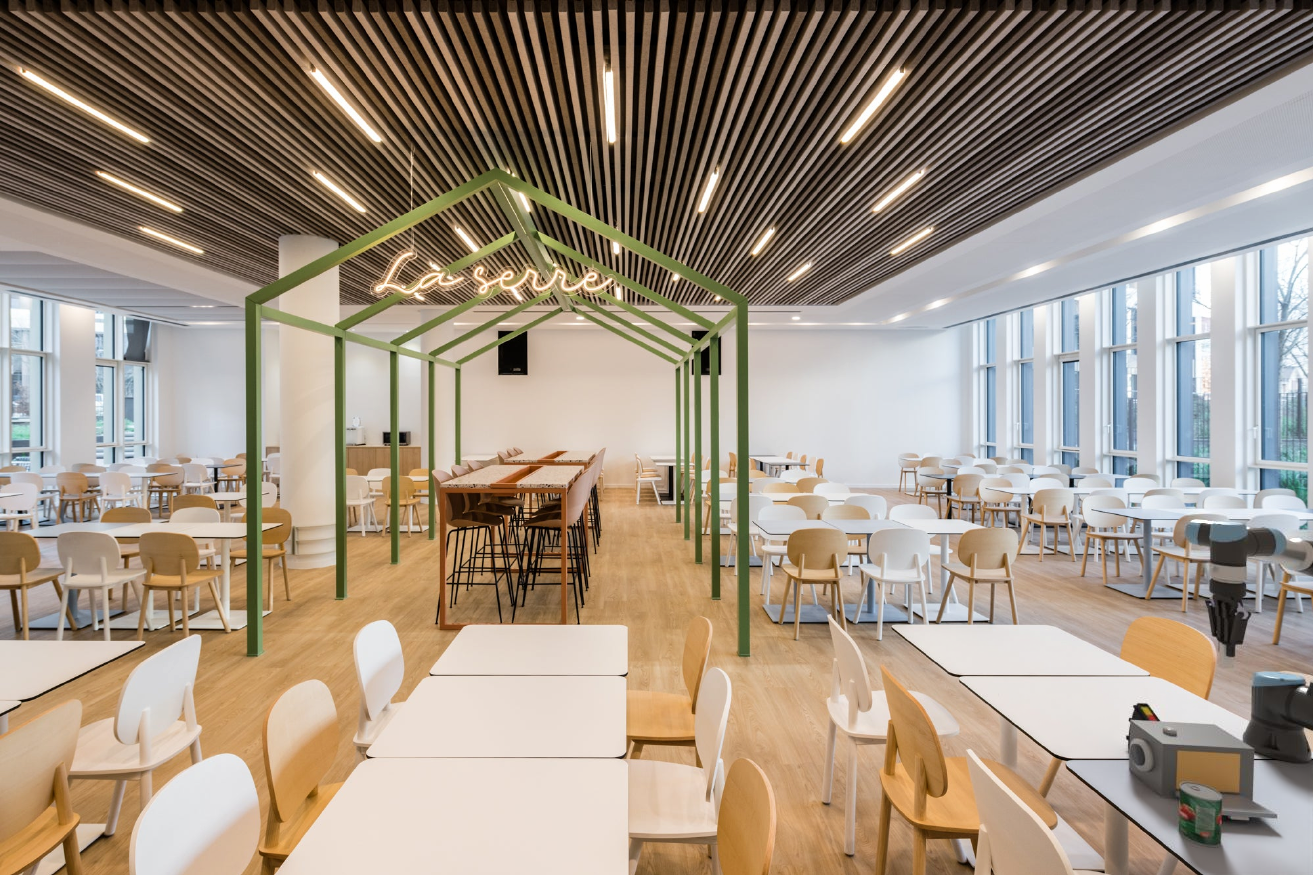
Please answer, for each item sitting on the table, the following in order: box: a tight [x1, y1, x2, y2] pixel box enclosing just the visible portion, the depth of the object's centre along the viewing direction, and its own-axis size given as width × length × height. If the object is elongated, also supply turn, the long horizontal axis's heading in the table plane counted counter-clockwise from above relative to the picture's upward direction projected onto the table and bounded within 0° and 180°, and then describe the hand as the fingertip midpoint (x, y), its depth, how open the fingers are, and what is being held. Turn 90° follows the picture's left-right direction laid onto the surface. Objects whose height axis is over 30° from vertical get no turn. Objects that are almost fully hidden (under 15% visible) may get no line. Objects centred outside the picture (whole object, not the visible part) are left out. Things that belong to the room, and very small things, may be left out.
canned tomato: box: [1177, 782, 1223, 848], centre depth 157 cm, size 8×8×11 cm
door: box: [1175, 791, 1278, 821], centre depth 167 cm, size 2×16×11 cm
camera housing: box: [1128, 720, 1255, 801], centre depth 180 cm, size 24×14×15 cm, turn 84°
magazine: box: [1125, 702, 1162, 749], centre depth 194 cm, size 4×13×15 cm, turn 177°
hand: (1226, 667), depth 179 cm, fingers closed
